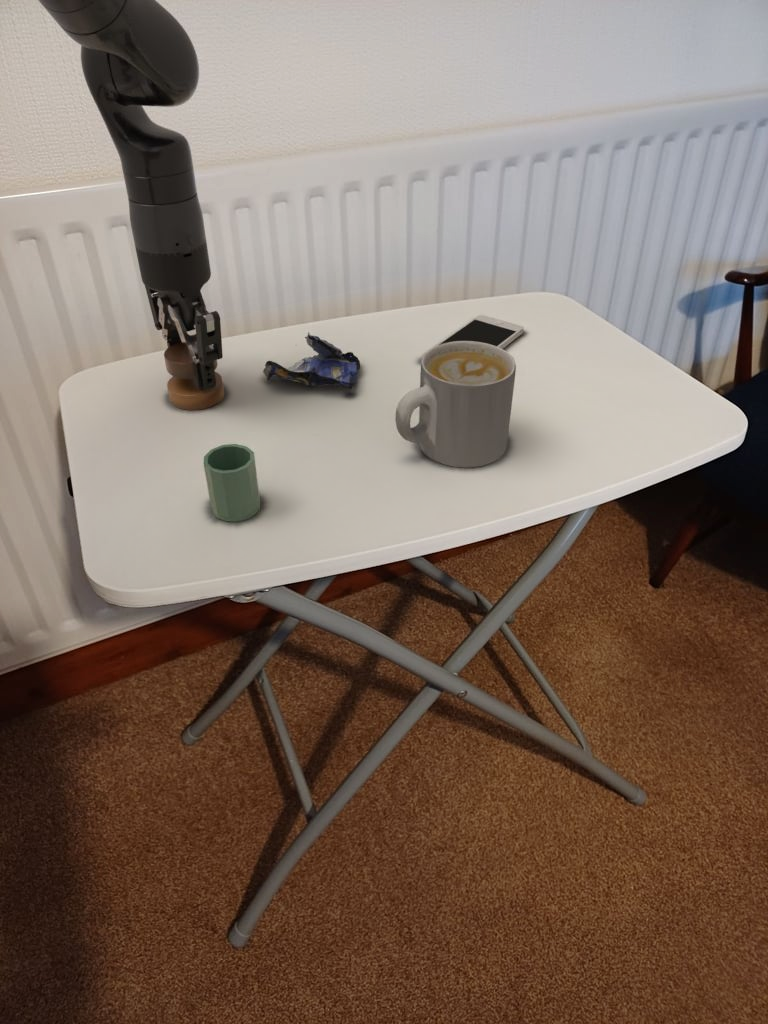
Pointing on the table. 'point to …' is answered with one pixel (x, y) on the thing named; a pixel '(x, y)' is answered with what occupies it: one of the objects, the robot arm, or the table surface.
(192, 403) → the oak chip
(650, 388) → the table surface
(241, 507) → the plastic cup
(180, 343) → the walnut chip
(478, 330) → the smartphone
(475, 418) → the coffee mug
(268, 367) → the snack package
